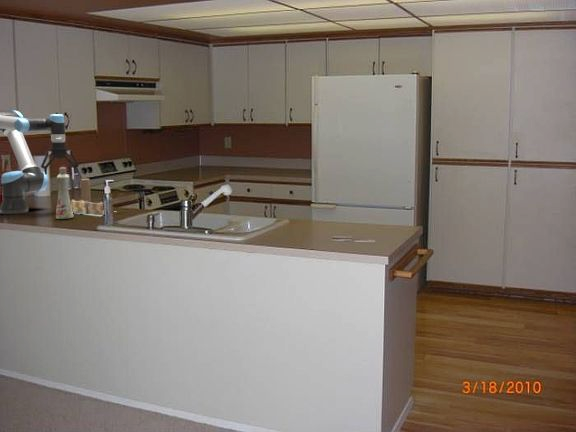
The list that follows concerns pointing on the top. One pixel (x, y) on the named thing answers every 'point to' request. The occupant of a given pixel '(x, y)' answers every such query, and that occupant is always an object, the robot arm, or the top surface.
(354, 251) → the top surface
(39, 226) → the top surface
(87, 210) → the fence fixed leg
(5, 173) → the robot arm
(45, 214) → the top surface
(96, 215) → the board
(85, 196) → the wooden block
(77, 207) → the fence panel
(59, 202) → the bottle
